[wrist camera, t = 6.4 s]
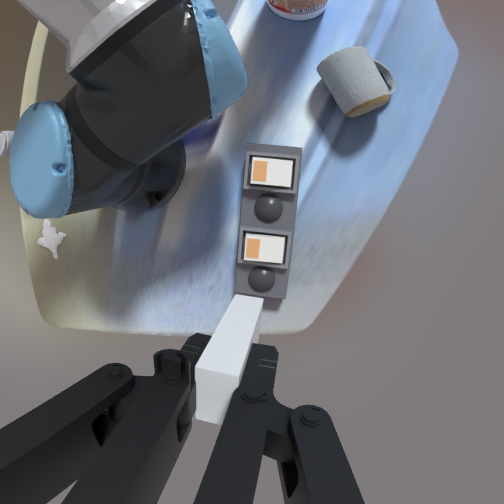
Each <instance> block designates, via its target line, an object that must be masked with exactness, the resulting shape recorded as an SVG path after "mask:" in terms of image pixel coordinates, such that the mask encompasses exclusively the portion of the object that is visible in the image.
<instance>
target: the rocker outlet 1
mask: <svg viewBox="0 0 504 504" xmlns="http://www.w3.org/2000/svg"><path fill="white" fill-rule="evenodd" d="M292 165H293V161H289V160H280V159H270V158H259V157H253V159H252V171H251V182H250V183H253V184H264V185H275V186H285V187H291V176H292Z"/></svg>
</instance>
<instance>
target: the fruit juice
mask: <svg viewBox="0 0 504 504" xmlns="http://www.w3.org/2000/svg"><path fill="white" fill-rule="evenodd" d="M327 1H328V0H267V3H268V5H269V7H270V8H271V9H272V10H273V11H274V12H275V13H276V14H277V15H279V16H281V17H283V18H286V19H290V20H308V19H312V18H315V17H317V16H318V15H320V14H321V13H322V12H323V11H324V10H325V8H326V5H327Z"/></svg>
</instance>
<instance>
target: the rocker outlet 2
mask: <svg viewBox="0 0 504 504" xmlns="http://www.w3.org/2000/svg"><path fill="white" fill-rule="evenodd" d="M284 243H285V237H282V236H271V235H260V234H248V233H246V240H245V252H244V260H250V261H261V262H273V263H282V260H283V251H284Z"/></svg>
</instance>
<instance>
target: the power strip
mask: <svg viewBox="0 0 504 504" xmlns="http://www.w3.org/2000/svg"><path fill="white" fill-rule="evenodd" d="M253 157H259V158H270V159H280V160H289V161H293V165H292V176H291V187H285V186H275V185H264V184H253V183H250V182H251V171H252V159H253ZM301 158H302V148H298V147H288V146H277V145H265V144H250V143H247V147H246V159H245V170H244V182H243V194H242V206H241V219H240V232H239V244H238V258H237V271H236V285H235V292H237V293H243V294H250V295H257V296H265V297H272V298H280V299H286V292H287V284H288V277H289V269H290V261H291V253H292V245H293V236H294V228H295V219H296V209H297V200H298V190H299V180H300V169H301ZM246 233H248V234H260V235H271V236H282V237H285V243H284V251H283V260H282V263H273V262H261V261H250V260H244V252H245V240H246Z"/></svg>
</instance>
